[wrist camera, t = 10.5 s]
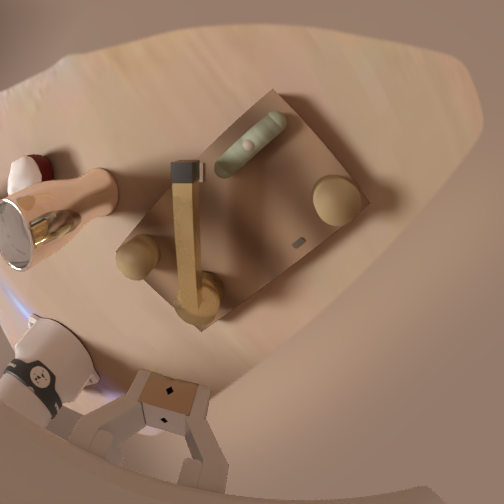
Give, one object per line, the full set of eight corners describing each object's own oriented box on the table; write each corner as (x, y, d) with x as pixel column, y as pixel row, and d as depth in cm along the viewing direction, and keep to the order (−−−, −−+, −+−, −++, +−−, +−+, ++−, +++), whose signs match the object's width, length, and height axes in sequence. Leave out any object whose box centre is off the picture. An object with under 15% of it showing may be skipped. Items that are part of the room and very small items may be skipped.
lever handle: (223, 307, 31) (214, 338, 26) (186, 303, 32) (171, 332, 27) (223, 156, 25) (209, 162, 20) (177, 156, 25) (154, 163, 20)
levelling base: (206, 317, 36) (195, 347, 31) (127, 242, 33) (102, 263, 27) (362, 196, 28) (380, 211, 23) (273, 93, 25) (271, 83, 19)
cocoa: (26, 163, 30) (-36, 182, 19) (45, 136, 28) (-24, 149, 17) (51, 215, 32) (-11, 246, 21) (72, 191, 30) (2, 219, 19)
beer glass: (132, 196, 30) (45, 246, 17) (100, 229, 32) (21, 287, 19) (99, 152, 28) (3, 178, 15) (70, 189, 31) (-16, 229, 17)
